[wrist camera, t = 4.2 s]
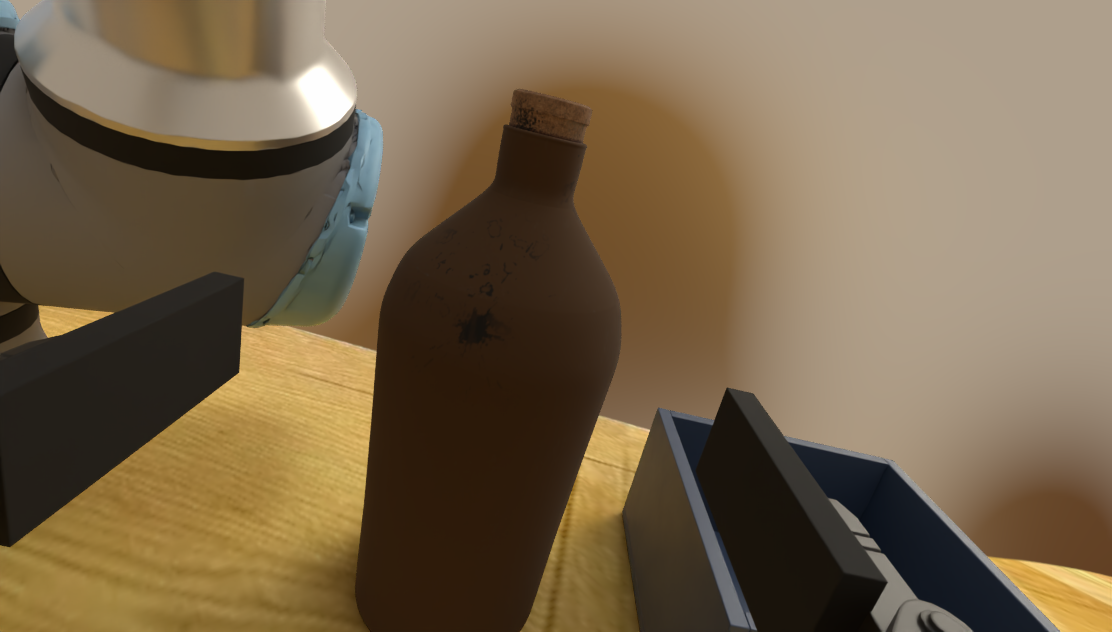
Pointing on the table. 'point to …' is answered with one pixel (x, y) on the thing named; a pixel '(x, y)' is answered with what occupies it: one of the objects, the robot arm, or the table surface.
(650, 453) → the blue-grey hollow square box
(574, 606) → the table surface
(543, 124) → the brown bottle
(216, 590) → the table surface
